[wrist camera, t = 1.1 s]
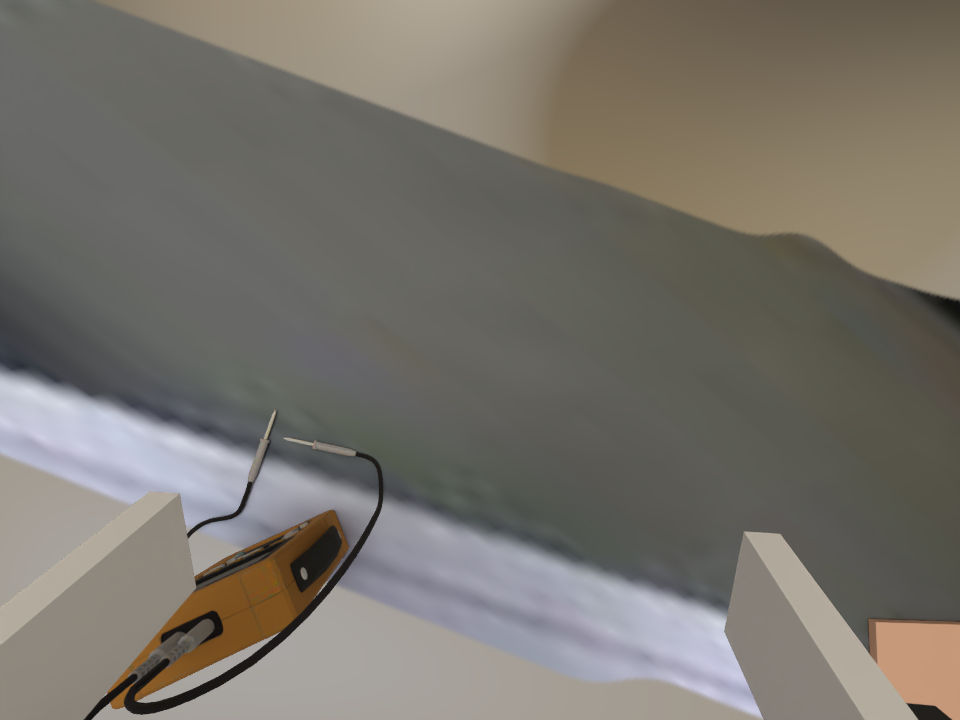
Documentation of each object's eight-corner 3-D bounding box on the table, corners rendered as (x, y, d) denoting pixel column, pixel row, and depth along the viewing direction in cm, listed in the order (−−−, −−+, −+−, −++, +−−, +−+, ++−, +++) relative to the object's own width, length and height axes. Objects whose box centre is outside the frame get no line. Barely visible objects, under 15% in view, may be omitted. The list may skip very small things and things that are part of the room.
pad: (1017, 783, 34) (1028, 789, 34) (875, 782, 34) (882, 789, 33) (1005, 623, 36) (1015, 626, 35) (868, 618, 35) (875, 622, 34)
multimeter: (345, 380, 34) (221, 315, 14) (405, 522, 33) (361, 661, 14) (122, 474, 32) (-370, 549, 13) (180, 628, 32) (-251, 966, 12)
